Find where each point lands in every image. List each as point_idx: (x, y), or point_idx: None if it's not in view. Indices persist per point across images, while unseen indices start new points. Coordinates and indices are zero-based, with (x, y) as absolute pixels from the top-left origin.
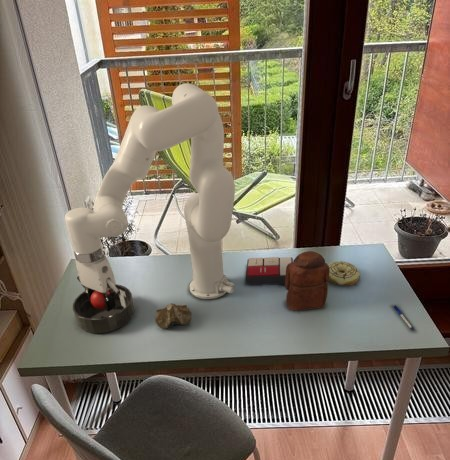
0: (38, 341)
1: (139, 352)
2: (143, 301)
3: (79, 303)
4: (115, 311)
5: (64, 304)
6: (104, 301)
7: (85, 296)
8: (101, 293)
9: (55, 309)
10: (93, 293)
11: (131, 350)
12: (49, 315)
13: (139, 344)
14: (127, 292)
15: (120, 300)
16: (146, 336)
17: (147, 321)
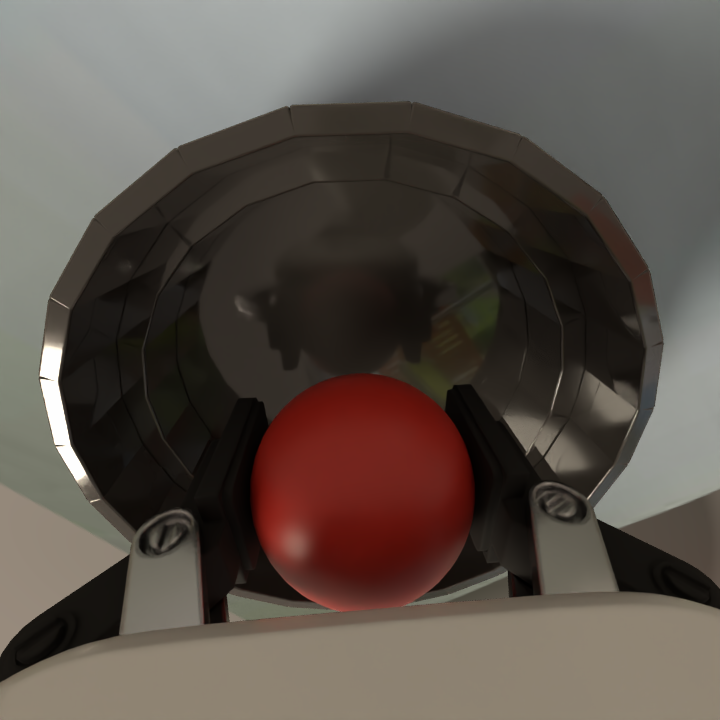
0: (230, 601)
1: (703, 460)
2: (526, 47)
3: (161, 482)
4: (399, 323)
5: (12, 428)
6: (485, 552)
7: (113, 429)
8: (427, 585)
9: (32, 478)
10: (321, 603)
11: (657, 469)
12: (71, 515)
13: (685, 429)
14: (473, 160)
15: (330, 190)
16: (708, 372)
17: (671, 267)
